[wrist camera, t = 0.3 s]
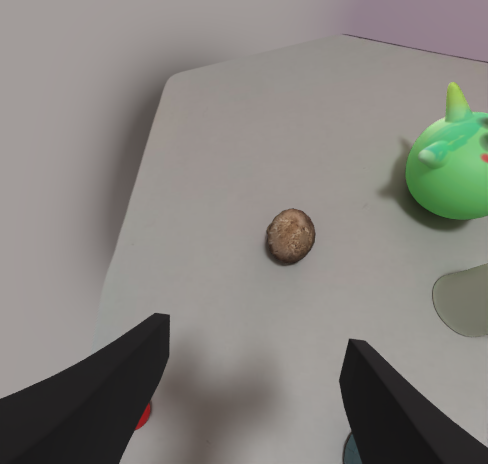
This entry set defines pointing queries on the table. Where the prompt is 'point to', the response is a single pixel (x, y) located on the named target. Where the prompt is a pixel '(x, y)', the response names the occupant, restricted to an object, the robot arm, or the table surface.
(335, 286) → the table surface
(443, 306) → the can
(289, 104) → the table surface
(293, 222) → the mushroom
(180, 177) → the table surface
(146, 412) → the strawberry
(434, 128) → the toy bird
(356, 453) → the bowl
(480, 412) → the table surface
